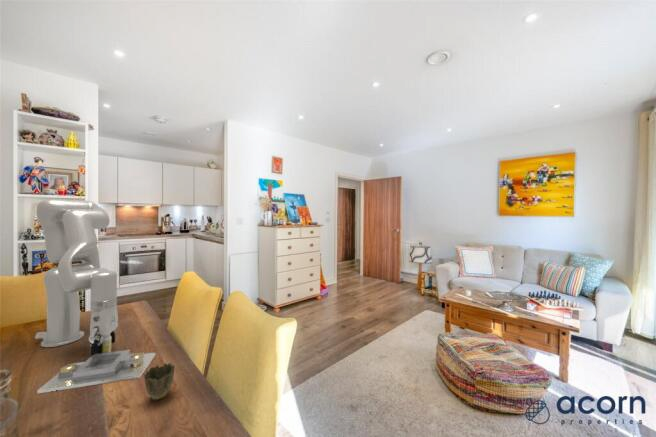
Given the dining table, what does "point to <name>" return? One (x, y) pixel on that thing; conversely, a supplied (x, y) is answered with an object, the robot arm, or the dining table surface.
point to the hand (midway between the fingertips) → (103, 348)
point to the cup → (159, 380)
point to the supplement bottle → (106, 343)
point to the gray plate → (99, 370)
